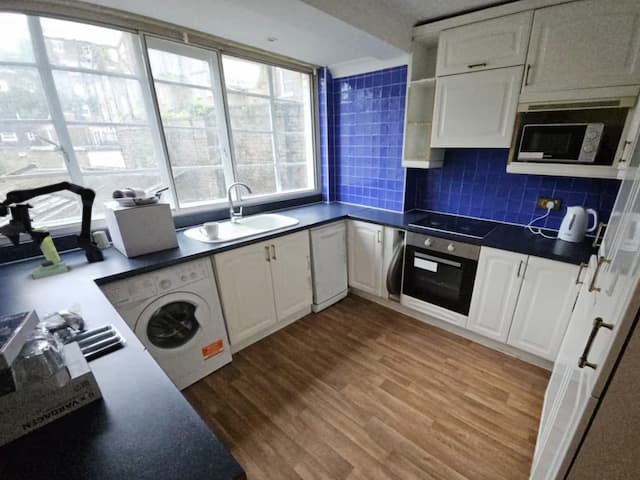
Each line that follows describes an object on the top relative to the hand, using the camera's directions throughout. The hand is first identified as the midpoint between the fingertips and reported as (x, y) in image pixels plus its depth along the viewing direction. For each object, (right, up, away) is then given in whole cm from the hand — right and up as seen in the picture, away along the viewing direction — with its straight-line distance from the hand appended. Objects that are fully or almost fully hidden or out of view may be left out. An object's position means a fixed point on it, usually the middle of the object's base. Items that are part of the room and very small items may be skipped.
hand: (27, 249), depth 144 cm
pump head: (+8, -8, +2) cm, 12 cm away
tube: (-4, -6, +17) cm, 18 cm away
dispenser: (+8, -12, +3) cm, 15 cm away
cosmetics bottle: (+5, +3, +38) cm, 39 cm away
